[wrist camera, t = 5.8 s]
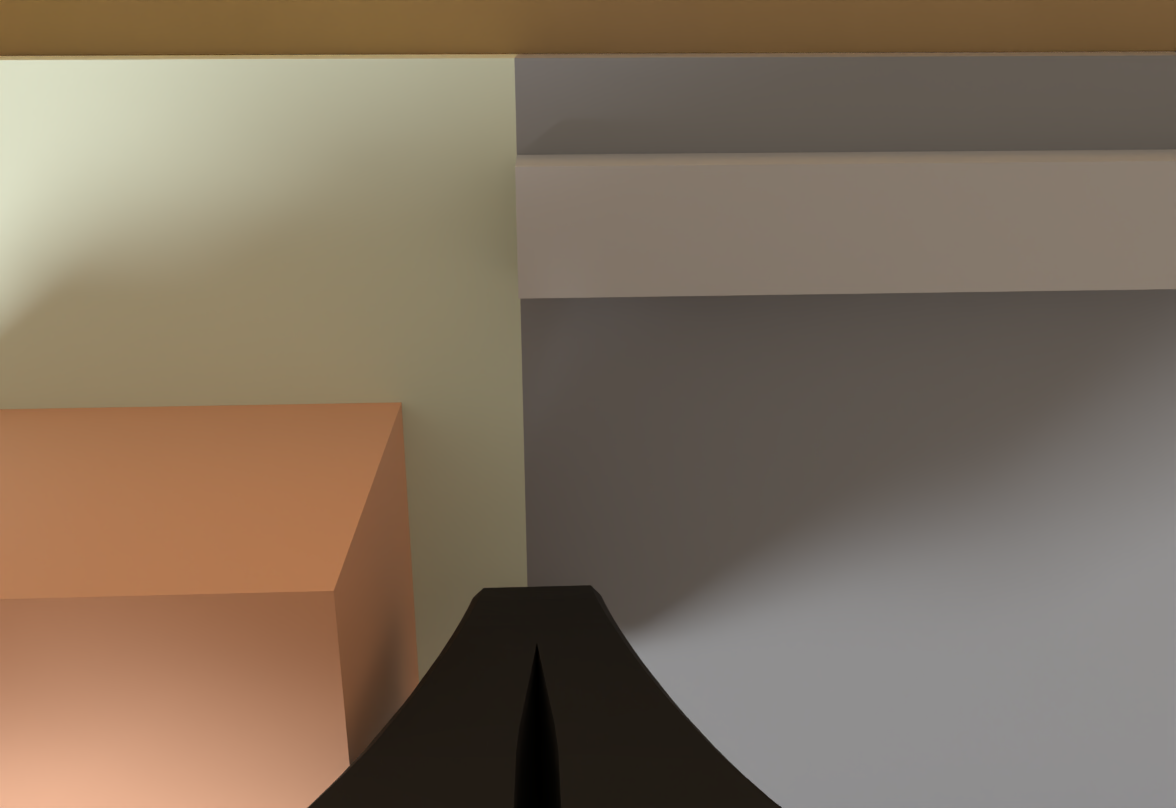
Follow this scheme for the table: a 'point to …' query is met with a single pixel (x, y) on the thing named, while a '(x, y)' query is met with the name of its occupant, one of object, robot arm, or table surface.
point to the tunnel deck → (685, 363)
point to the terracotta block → (199, 601)
